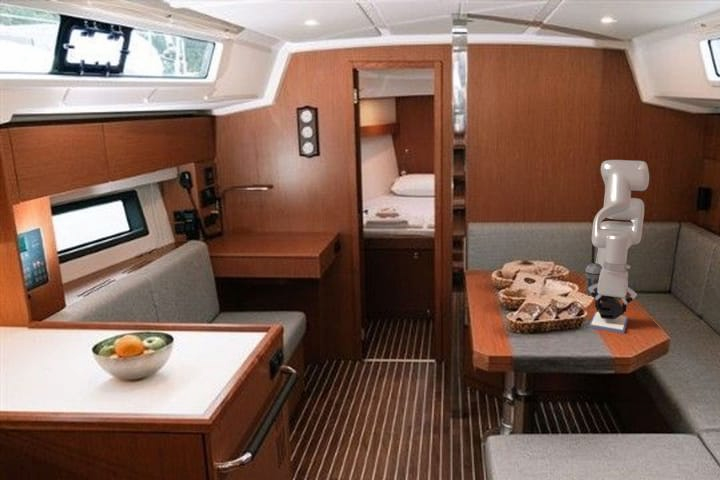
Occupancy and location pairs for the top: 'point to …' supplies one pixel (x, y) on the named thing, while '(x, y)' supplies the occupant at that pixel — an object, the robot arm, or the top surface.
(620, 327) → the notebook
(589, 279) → the beverage cup
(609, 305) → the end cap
